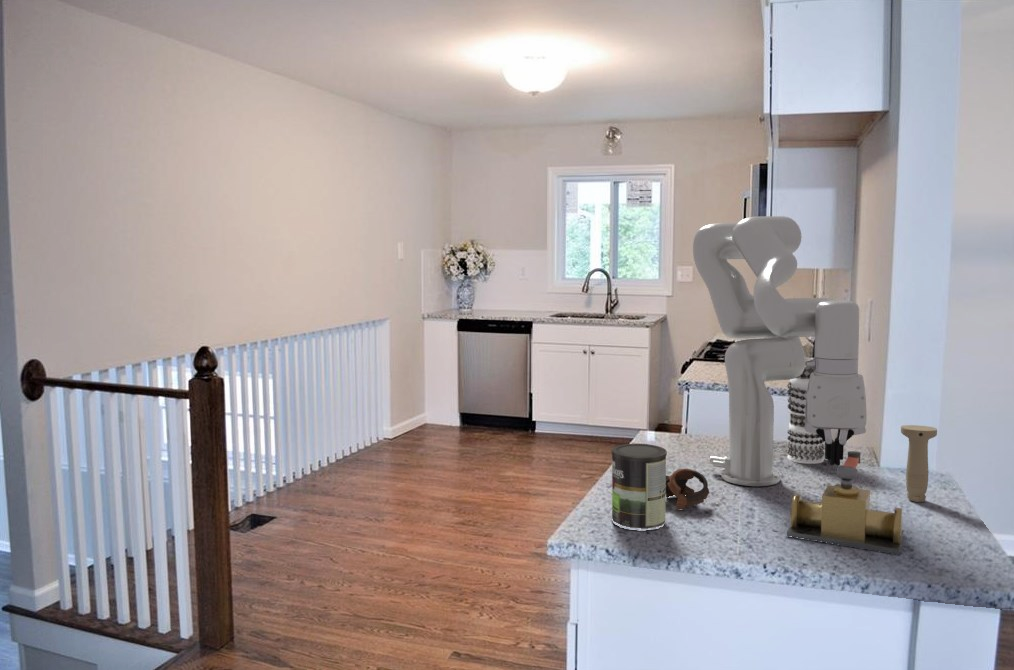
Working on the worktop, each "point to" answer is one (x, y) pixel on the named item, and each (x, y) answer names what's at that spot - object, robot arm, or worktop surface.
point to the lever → (849, 466)
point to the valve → (846, 520)
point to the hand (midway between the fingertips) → (833, 463)
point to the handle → (917, 460)
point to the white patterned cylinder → (802, 423)
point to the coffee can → (638, 485)
